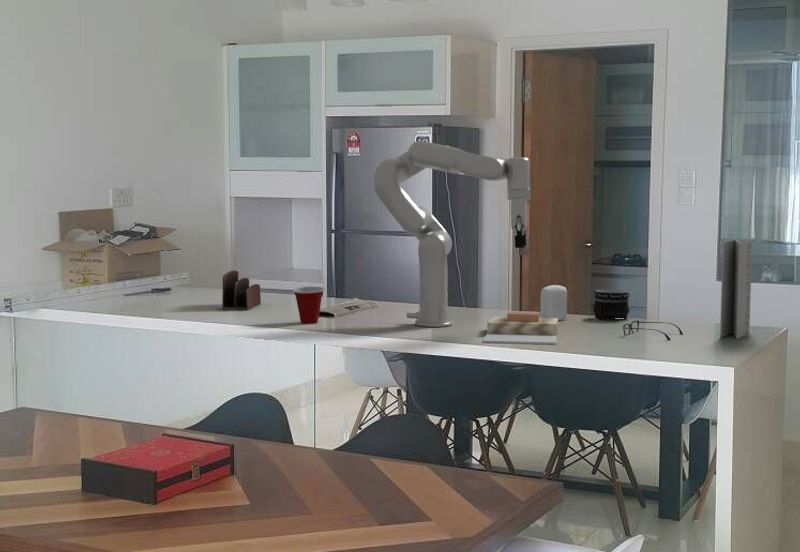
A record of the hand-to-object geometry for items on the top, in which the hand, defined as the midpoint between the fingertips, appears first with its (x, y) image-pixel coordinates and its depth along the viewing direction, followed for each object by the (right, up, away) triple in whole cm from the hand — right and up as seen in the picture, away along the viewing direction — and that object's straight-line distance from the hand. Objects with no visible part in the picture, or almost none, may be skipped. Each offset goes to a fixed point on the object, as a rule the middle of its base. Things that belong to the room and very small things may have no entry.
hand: (520, 246), depth 354 cm
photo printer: (+14, -25, +20) cm, 35 cm away
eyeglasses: (+40, -29, -14) cm, 52 cm away
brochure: (+67, -29, -14) cm, 74 cm away
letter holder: (-101, -22, +58) cm, 118 cm away
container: (+35, -25, +25) cm, 50 cm away
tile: (0, -23, -9) cm, 24 cm away
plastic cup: (-71, -26, +14) cm, 77 cm away
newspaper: (-61, -24, +46) cm, 80 cm away
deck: (0, -28, -9) cm, 29 cm away
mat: (-3, -30, -24) cm, 38 cm away
